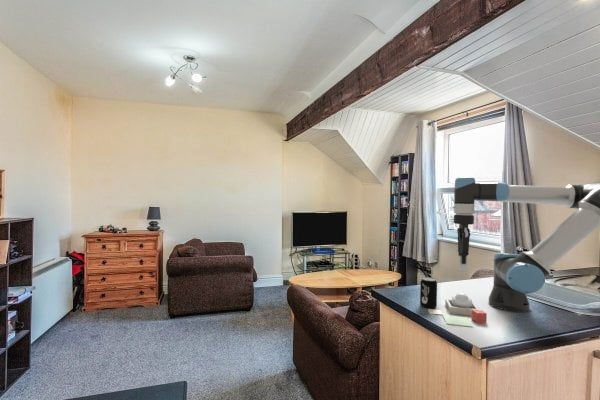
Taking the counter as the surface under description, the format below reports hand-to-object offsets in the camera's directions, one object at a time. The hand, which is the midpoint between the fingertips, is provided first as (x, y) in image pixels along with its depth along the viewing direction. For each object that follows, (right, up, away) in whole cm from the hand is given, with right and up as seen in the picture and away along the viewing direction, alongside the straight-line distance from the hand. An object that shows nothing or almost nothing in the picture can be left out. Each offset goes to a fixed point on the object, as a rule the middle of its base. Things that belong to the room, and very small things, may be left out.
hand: (462, 270), depth 134 cm
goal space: (-8, -16, -12) cm, 22 cm away
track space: (-13, -16, -3) cm, 21 cm away
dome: (0, -14, 0) cm, 14 cm away
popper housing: (0, -16, 0) cm, 16 cm away
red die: (0, -17, -12) cm, 20 cm away
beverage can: (-13, -16, +4) cm, 21 cm away
